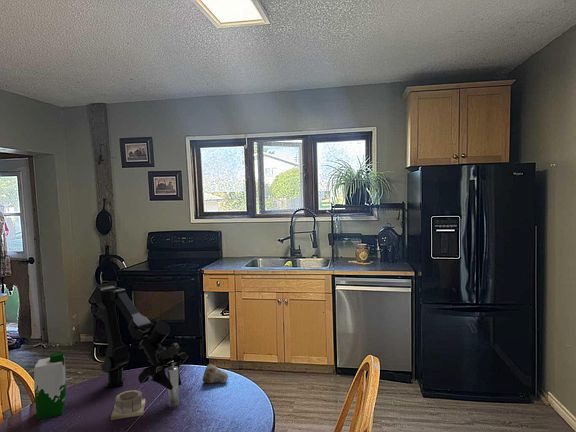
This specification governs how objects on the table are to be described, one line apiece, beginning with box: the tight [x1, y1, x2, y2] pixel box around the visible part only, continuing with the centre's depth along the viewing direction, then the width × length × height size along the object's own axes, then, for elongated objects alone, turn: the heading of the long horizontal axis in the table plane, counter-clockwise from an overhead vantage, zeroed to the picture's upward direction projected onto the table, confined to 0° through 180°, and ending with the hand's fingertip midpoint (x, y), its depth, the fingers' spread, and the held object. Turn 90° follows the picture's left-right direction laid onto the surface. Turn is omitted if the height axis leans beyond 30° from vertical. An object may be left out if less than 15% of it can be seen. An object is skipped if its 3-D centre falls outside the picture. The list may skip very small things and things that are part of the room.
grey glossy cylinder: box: [167, 366, 180, 408], centre depth 136 cm, size 4×4×13 cm
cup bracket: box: [110, 389, 146, 421], centre depth 133 cm, size 10×10×5 cm
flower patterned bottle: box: [202, 363, 229, 384], centre depth 153 cm, size 8×10×10 cm
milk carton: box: [33, 351, 67, 420], centre depth 132 cm, size 9×9×20 cm
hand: (176, 387), depth 135 cm, fingers closed on grey glossy cylinder, 4 cm apart
